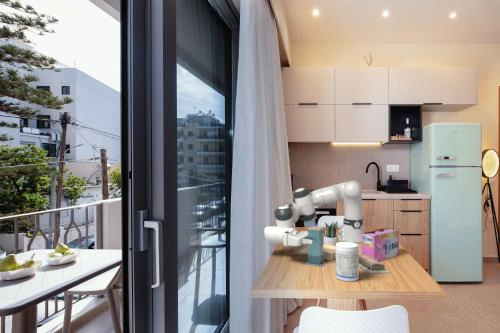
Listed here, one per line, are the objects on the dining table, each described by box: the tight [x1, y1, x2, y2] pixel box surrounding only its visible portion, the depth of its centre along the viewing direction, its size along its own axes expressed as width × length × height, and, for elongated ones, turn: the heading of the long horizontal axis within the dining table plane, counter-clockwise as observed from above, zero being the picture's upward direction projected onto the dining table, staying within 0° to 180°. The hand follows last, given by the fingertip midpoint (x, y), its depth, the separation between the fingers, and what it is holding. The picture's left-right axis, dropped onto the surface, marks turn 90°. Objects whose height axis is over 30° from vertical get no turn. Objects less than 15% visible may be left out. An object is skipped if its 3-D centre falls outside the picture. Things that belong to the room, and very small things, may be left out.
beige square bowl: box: [323, 243, 336, 261], centre depth 170 cm, size 15×15×5 cm
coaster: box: [303, 260, 329, 268], centre depth 159 cm, size 9×9×1 cm
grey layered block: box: [359, 253, 390, 275], centre depth 153 cm, size 18×5×10 cm
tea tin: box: [307, 225, 325, 265], centre depth 159 cm, size 6×5×17 cm
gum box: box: [360, 227, 400, 262], centre depth 171 cm, size 24×8×14 cm, turn 125°
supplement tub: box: [335, 241, 360, 282], centre depth 139 cm, size 10×10×15 cm
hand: (316, 239), depth 159 cm, fingers open, 8 cm apart
